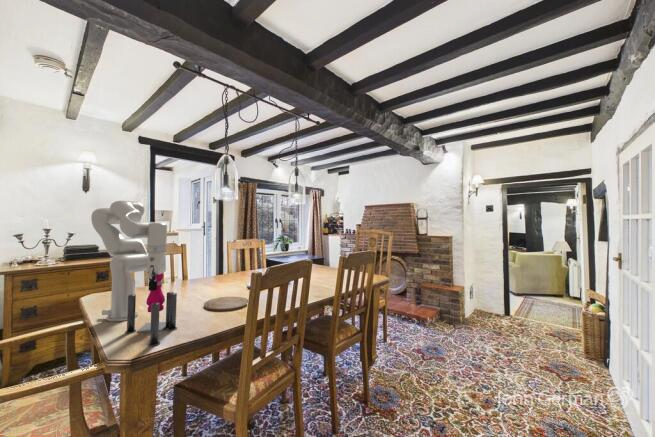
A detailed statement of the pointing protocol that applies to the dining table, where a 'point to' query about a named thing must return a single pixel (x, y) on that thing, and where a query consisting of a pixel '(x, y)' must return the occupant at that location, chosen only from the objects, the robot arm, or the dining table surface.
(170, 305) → the gate course
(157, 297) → the pepper mill
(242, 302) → the trivet
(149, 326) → the slate coaster
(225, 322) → the dining table surface
